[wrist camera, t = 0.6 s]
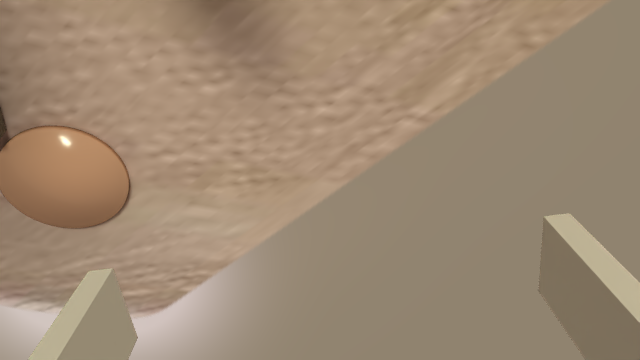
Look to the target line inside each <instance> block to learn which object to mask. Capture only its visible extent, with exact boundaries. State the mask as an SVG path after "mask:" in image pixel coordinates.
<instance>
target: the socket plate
mask: <svg viewBox="0 0 640 360" xmlns="http://www.w3.org/2000/svg"><path fill="white" fill-rule="evenodd" d="M5 131H6V126H5V123H4V119H3V115H2V112H1V108H0V138H1V137H2V136H3V134H4V133H5Z"/></svg>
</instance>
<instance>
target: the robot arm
mask: <svg viewBox="0 0 640 360" xmlns="http://www.w3.org/2000/svg"><path fill="white" fill-rule="evenodd" d="M538 291H539V293H540V294H541V296H542V297H543V299H544V300H545V302H546V303H547V305H548V306H549V307H550V309H551V310H552V312H553V313H554V315H555V316H556V318H557V319H558V321H559V322H560V324H561V325H562V326H563V328H564V329H565V331H566V332H567V334H568V335H569V337H570V338H571V340H572V341H573V342H574V344H575V345H576V347H577V348H578V350H579V351H580V352H581V354H582V356H583V357H584V358H585V360H640V283H639V282H638V281H637V280H636V279H635V278H634V277H633V276H632V275H631V274H630V273H629V272H628V271H627V270H626V269H625V268H624V267H623V266H622V265H621V264H620V263H619V262H618V261H617V260H616V259H615V258H614V257H613V256H612V255H611V254H610V253H609V252H608V251H607V250H606V249H605V248H604V247H603V246H602V245H601V244H600V243H599V242H598V241H597V240H596V239H595V238H594V237H593V236H592V235H591V234H590V233H589V232H588V231H587V230H586V229H585V228H584V227H583V226H582V225H581V224H580V223H579V222H578V221H577V220H576V219H575V218H573V216H572V215H570V214H560V215H552V216H545V217H544V218H543V233H542V247H541V261H540V276H539V290H538ZM137 338H138V337H137V334H136V331H135V329H134V326H133V323H132V320H131V317H130V315H129V312H128V309H127V306H126V303H125V301H124V298H123V295H122V292H121V289H120V286H119V284H118V281H117V278H116V275H115V272H114V270H113V268H111V269H102V270H94V271H88V273H87V274H86V276H85V277H84V279H83V280H82V281H81V283H80V284H79V286H78V287H77V289H76V290H75V292H74V293H73V295H72V296H71V297H70V299H69V300H68V302H67V303H66V305H65V306H64V308H63V309H62V311H61V312H60V314H59V315H58V316H57V318H56V319H55V321H54V322H53V324H52V325H51V327H50V328H49V330H48V331H47V332H46V334H45V335H44V337H43V338H42V340H41V341H40V343H39V344H38V346H37V347H36V349H35V350H34V351H33V353H32V354H31V356H30V357H29V359H28V360H128V358H129V356H130V354H131V352H132V349H133V347H134V345H135V343H136V341H137Z"/></svg>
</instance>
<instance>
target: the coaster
mask: <svg viewBox="0 0 640 360" xmlns="http://www.w3.org/2000/svg"><path fill="white" fill-rule="evenodd" d="M0 190H1V192H2V193H3V195H4V196H5V197H6V199H7V200H8V201H9V202H10V203H11V204H12V205H13V206H14V207H15V208H17V209H18V210H19V211H20V212H22V213H24V214H25V215H27V216H29V217H30V218H32V219H34V220H37V221H39V222H42V223H45V224H48V225H52V226H57V227H64V228H83V227H90V226H94V225H97V224H100V223H102V222H105V221H106V220H108V219H110V218H111V217H113V216H114V215H115V214H116V213H118V212H119V210H120V209H121V208H122V207H123V205H124V203H125V201H126V198H127V195H128V191H129V176H128V172H127V169H126V166H125V165H124V163H123V161H122V159H121V158H120V157H119V155H118V154H117V153H116V152H115V151H114V150H113V149H112V148H111V147H110V146H109V145H107V144H106V143H105V142H103V141H102V140H100V139H99V138H97V137H95V136H93V135H91V134H89V133H86V132H84V131H81V130H77V129H74V128H69V127H64V126H41V127H35V128H31V129H28V130H25V131H23V132H21V133H19V134H17V135H15V136H14V137H13V138H12V139H10V140H9V141H8V142H7V143H6V145H5V146H4V147H3V149H2V150H1V152H0Z"/></svg>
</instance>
